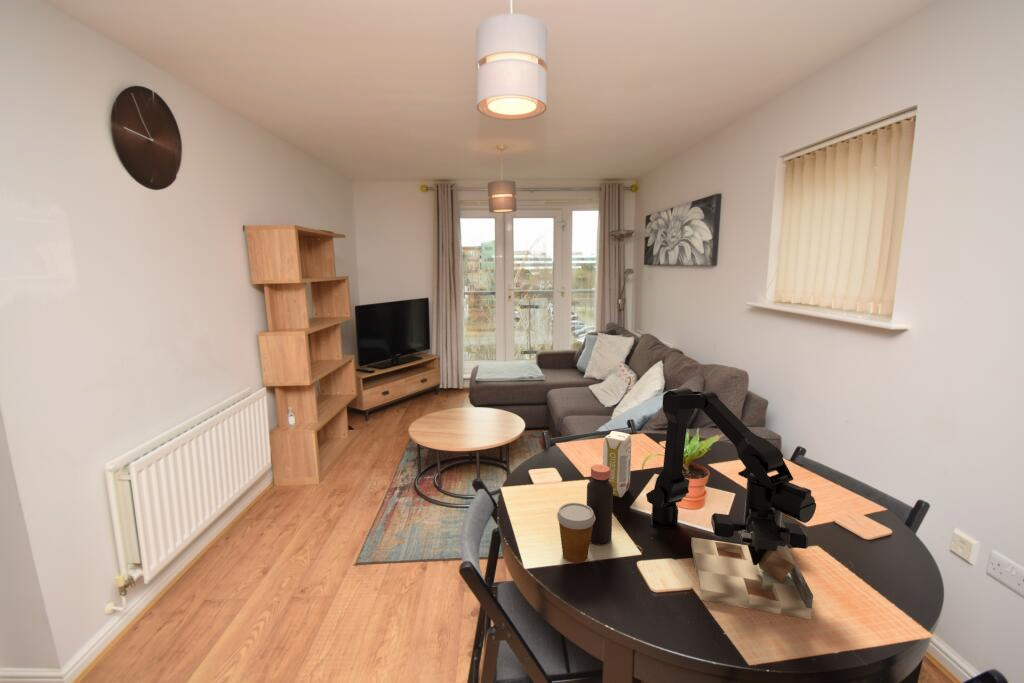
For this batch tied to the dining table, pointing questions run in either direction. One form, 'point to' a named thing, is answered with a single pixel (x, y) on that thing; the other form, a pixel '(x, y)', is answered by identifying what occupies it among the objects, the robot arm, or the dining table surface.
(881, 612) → the dining table surface
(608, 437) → the juice carton
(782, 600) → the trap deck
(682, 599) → the dining table surface
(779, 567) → the walnut block
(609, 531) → the black water bottle
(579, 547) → the disposable coffee cup
